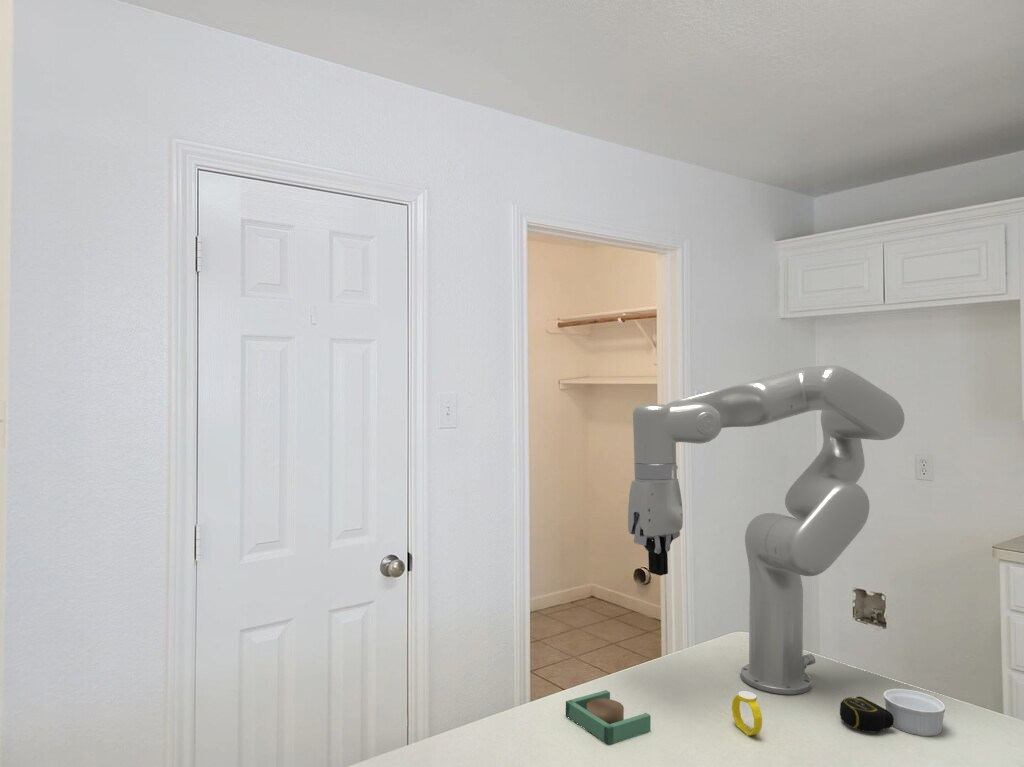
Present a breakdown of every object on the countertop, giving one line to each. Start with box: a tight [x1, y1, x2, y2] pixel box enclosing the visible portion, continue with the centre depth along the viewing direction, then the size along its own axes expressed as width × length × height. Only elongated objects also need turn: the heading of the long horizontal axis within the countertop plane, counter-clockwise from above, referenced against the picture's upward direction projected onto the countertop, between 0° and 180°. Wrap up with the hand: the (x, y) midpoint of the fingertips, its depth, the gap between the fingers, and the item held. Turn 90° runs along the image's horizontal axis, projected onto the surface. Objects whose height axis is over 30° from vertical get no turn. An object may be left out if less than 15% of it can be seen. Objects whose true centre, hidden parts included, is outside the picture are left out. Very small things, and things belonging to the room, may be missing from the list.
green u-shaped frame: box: [565, 689, 652, 746], centre depth 112 cm, size 9×11×2 cm
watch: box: [731, 690, 763, 737], centre depth 110 cm, size 6×3×6 cm, turn 18°
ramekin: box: [883, 688, 946, 737], centre depth 113 cm, size 9×9×4 cm
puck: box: [587, 698, 625, 724], centre depth 112 cm, size 6×6×3 cm
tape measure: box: [839, 695, 894, 733], centre depth 113 cm, size 7×7×4 cm
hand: (658, 573), depth 124 cm, fingers closed
